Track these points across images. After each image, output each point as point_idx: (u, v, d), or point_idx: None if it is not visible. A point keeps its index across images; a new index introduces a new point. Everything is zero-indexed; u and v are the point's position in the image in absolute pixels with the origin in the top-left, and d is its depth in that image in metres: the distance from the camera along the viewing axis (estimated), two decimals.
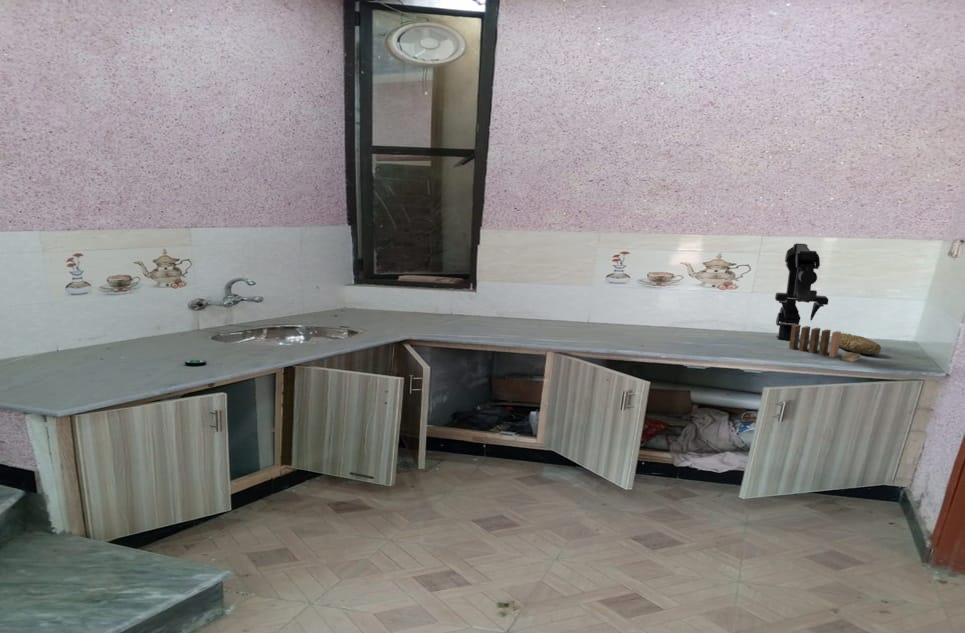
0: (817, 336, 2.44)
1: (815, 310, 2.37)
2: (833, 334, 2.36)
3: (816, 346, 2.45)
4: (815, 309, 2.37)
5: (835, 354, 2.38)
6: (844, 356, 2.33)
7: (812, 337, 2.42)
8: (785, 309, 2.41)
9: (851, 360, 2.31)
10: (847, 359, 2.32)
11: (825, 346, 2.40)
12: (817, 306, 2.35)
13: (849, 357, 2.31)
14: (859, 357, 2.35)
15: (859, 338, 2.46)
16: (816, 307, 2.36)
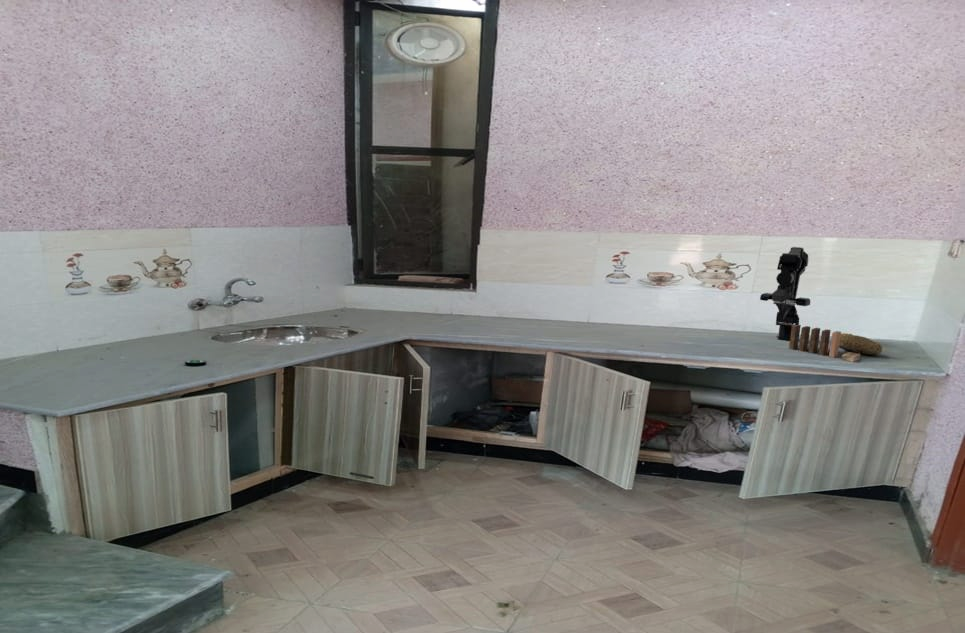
0: (817, 336, 2.44)
1: (784, 309, 2.50)
2: (833, 334, 2.36)
3: (816, 346, 2.45)
4: (784, 309, 2.51)
5: (835, 354, 2.38)
6: (844, 356, 2.33)
7: (812, 337, 2.42)
8: (780, 310, 2.52)
9: (851, 360, 2.31)
10: (847, 359, 2.32)
11: (825, 346, 2.40)
12: (785, 305, 2.49)
13: (849, 357, 2.31)
14: (859, 357, 2.35)
15: (860, 338, 2.46)
16: (785, 306, 2.50)
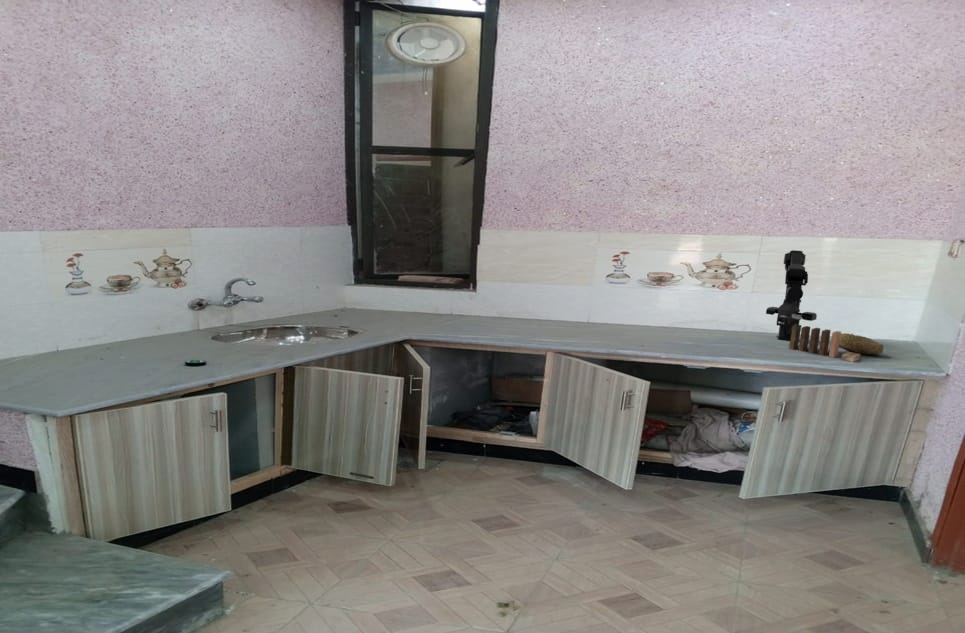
0: (817, 336, 2.44)
1: (790, 324, 2.49)
2: (833, 334, 2.36)
3: (816, 346, 2.45)
4: (790, 323, 2.49)
5: (835, 354, 2.38)
6: (844, 356, 2.33)
7: (812, 337, 2.42)
8: (786, 324, 2.51)
9: (851, 360, 2.31)
10: (847, 359, 2.32)
11: (825, 346, 2.40)
12: (791, 320, 2.48)
13: (849, 357, 2.31)
14: (859, 357, 2.35)
15: (861, 338, 2.46)
16: (791, 321, 2.48)
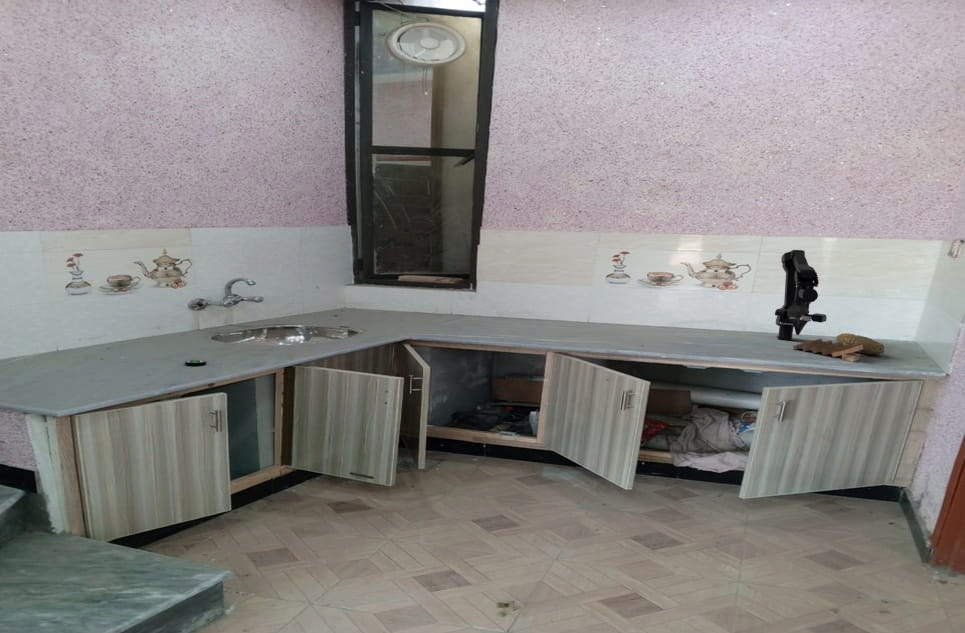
0: None
1: (800, 325, 2.46)
2: (856, 348, 2.31)
3: None
4: (800, 325, 2.47)
5: None
6: (844, 356, 2.33)
7: (828, 347, 2.38)
8: (795, 326, 2.48)
9: (851, 360, 2.31)
10: (847, 359, 2.32)
11: (833, 352, 2.38)
12: (800, 321, 2.45)
13: (849, 357, 2.31)
14: (859, 357, 2.35)
15: (862, 338, 2.47)
16: (800, 322, 2.46)
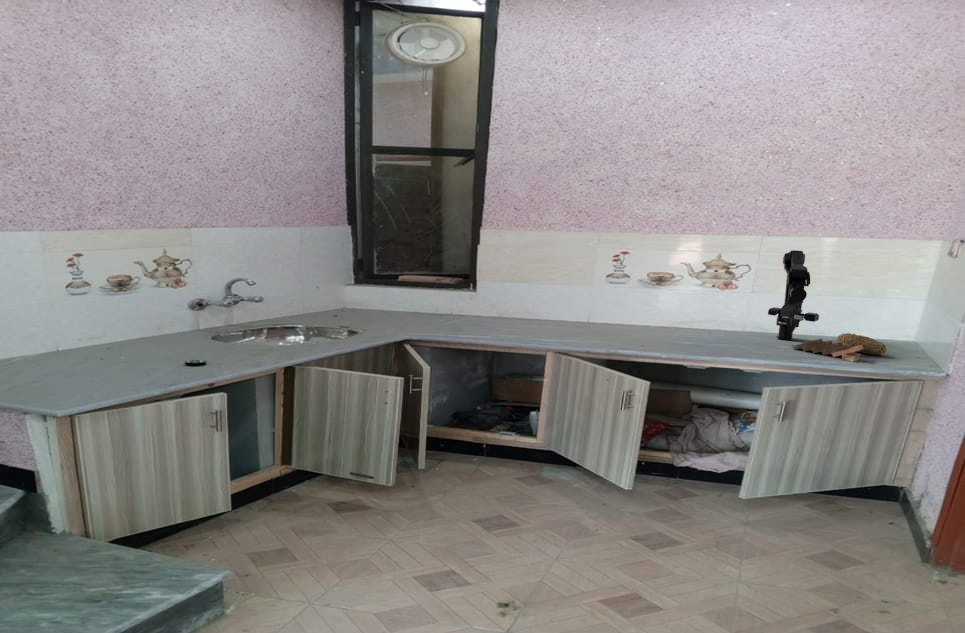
0: None
1: (793, 324, 2.49)
2: (856, 348, 2.31)
3: None
4: (792, 324, 2.49)
5: None
6: (844, 356, 2.33)
7: (828, 347, 2.38)
8: (788, 325, 2.50)
9: (851, 360, 2.31)
10: (847, 359, 2.32)
11: (833, 352, 2.38)
12: (793, 320, 2.47)
13: (849, 357, 2.31)
14: (859, 357, 2.35)
15: (864, 338, 2.47)
16: (793, 321, 2.48)
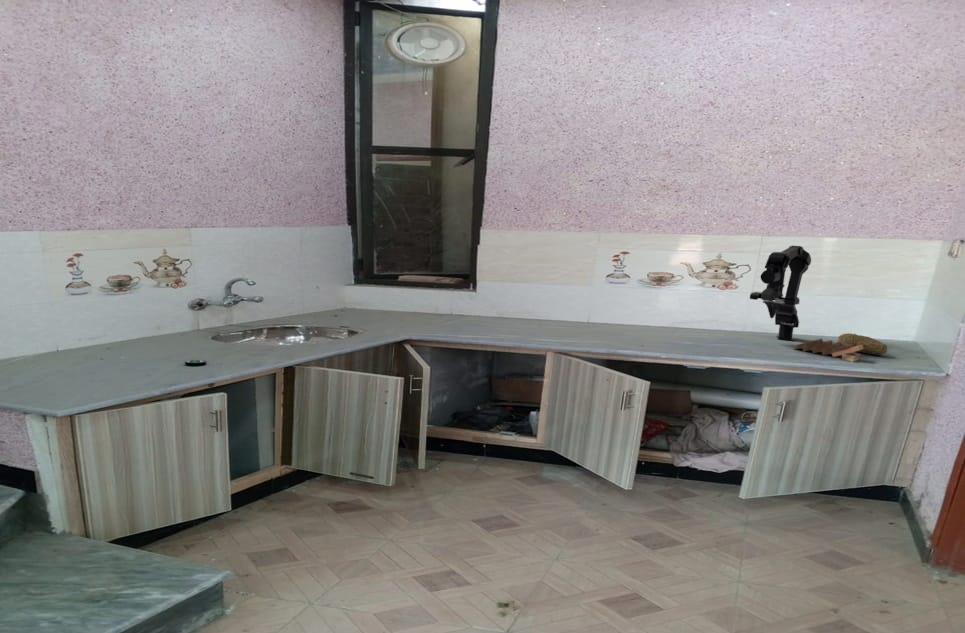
0: None
1: (774, 308, 2.51)
2: (856, 348, 2.31)
3: None
4: (774, 308, 2.51)
5: None
6: (844, 356, 2.33)
7: (828, 347, 2.38)
8: (769, 309, 2.52)
9: (851, 360, 2.31)
10: (847, 359, 2.32)
11: (833, 352, 2.38)
12: (774, 304, 2.49)
13: (849, 357, 2.31)
14: (859, 357, 2.35)
15: (865, 338, 2.47)
16: (774, 305, 2.50)
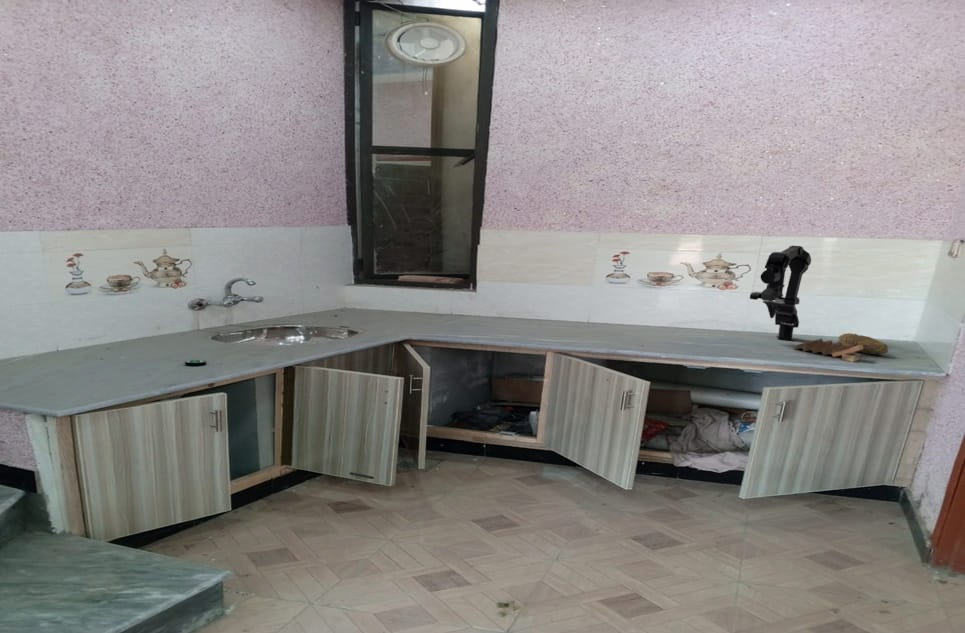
0: None
1: (774, 308, 2.51)
2: (856, 348, 2.31)
3: None
4: (774, 308, 2.51)
5: None
6: (844, 356, 2.33)
7: (828, 347, 2.38)
8: (769, 309, 2.52)
9: (851, 360, 2.31)
10: (847, 359, 2.32)
11: (833, 352, 2.38)
12: (774, 304, 2.49)
13: (849, 357, 2.31)
14: (859, 357, 2.35)
15: (866, 338, 2.47)
16: (774, 305, 2.50)
